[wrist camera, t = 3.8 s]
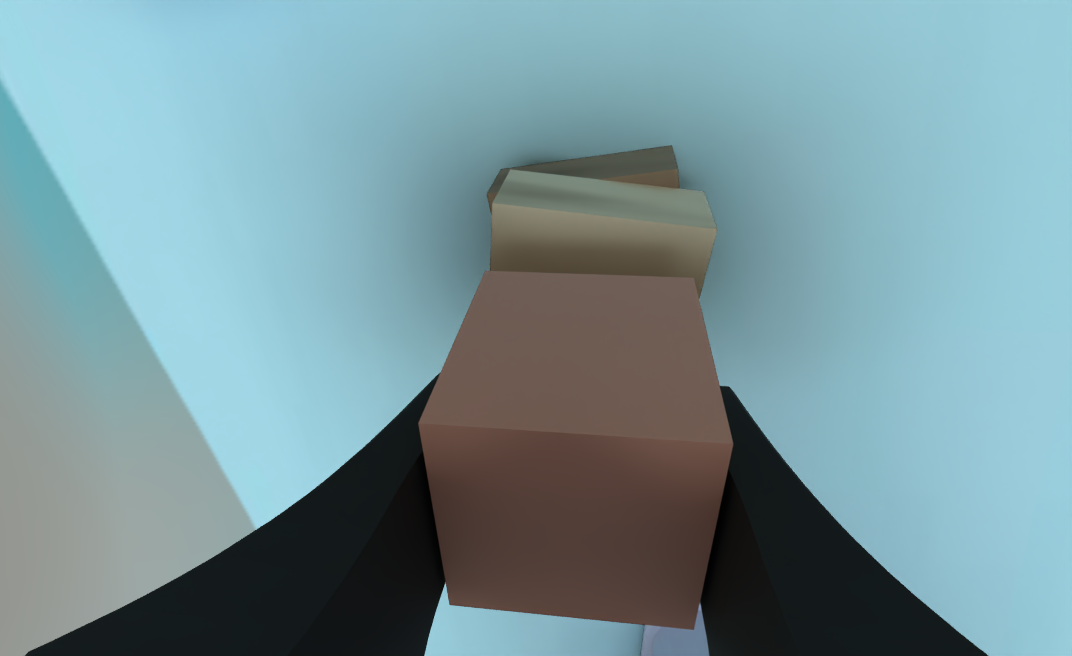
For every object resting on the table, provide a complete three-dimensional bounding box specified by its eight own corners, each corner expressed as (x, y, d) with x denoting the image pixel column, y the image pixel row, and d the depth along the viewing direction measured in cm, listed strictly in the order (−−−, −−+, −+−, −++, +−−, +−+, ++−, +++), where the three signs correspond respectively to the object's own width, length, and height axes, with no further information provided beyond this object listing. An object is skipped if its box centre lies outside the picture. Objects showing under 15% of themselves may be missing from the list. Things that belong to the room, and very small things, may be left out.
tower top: (665, 351, 17) (671, 404, 15) (502, 329, 18) (486, 379, 16) (703, 191, 15) (717, 229, 13) (510, 169, 15) (492, 203, 13)
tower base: (678, 294, 19) (685, 335, 17) (531, 307, 20) (520, 347, 18) (670, 142, 17) (677, 168, 15) (502, 166, 18) (486, 193, 15)
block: (671, 436, 13) (693, 630, 9) (496, 425, 13) (449, 605, 10) (693, 277, 11) (732, 444, 7) (485, 270, 11) (417, 423, 8)
